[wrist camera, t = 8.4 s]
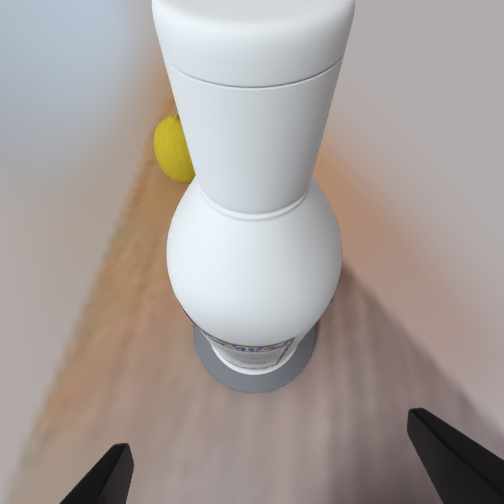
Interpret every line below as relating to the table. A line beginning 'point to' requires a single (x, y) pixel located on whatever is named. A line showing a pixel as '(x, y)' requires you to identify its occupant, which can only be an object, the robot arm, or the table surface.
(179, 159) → the lemon
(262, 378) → the dock pad
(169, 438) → the table surface
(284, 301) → the bath foam
